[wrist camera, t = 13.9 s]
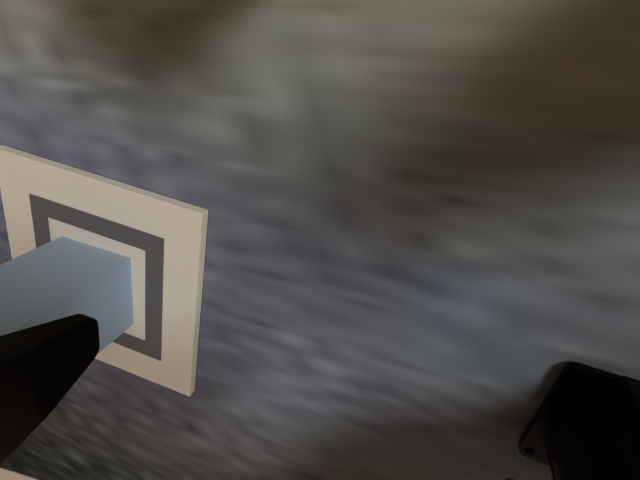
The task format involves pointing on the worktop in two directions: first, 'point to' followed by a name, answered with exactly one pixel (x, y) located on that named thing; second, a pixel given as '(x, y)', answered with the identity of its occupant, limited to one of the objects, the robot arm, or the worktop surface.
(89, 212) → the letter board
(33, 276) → the blue block
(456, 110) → the worktop surface
